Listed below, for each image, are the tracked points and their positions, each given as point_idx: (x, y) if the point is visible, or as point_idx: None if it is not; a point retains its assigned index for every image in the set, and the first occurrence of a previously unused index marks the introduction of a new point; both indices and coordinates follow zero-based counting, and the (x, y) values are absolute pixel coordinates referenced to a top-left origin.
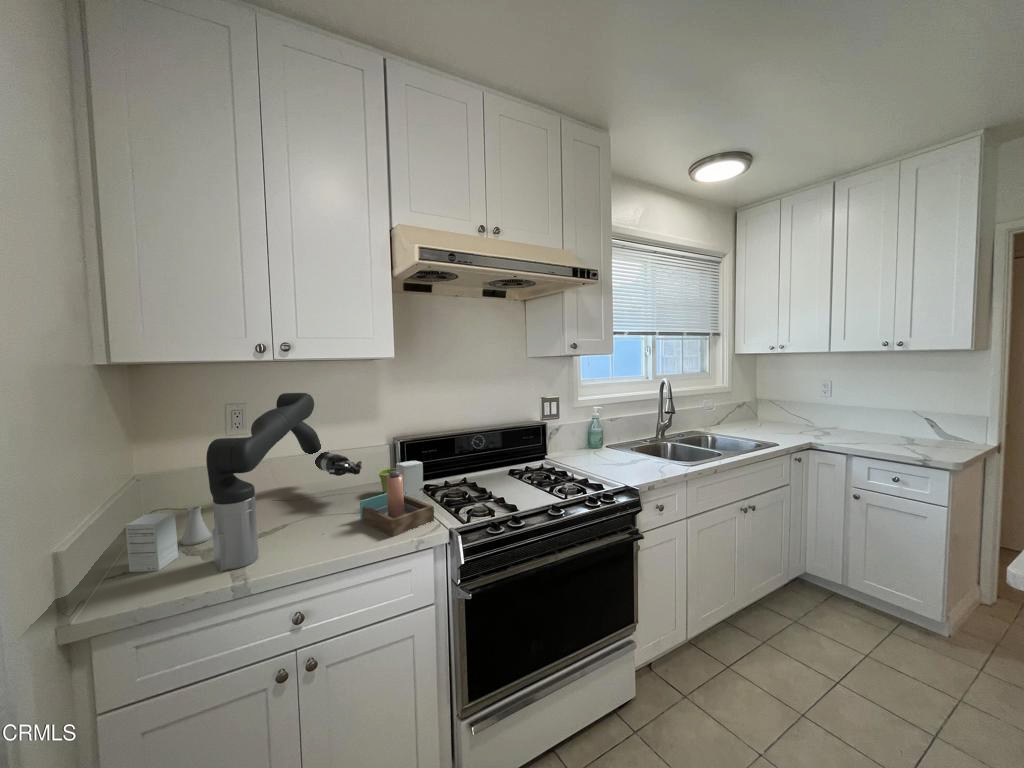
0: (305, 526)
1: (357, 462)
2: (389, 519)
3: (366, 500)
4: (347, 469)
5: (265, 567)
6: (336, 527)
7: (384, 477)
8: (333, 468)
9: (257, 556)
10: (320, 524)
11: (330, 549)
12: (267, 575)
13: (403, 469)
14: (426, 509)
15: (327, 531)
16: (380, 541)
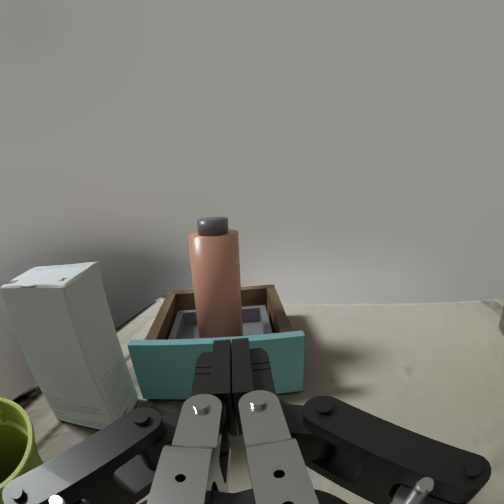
0: (463, 420)
1: (57, 495)
2: (275, 289)
3: (283, 333)
4: (288, 410)
5: (475, 313)
6: (376, 387)
7: (34, 449)
8: (437, 448)
9: (500, 325)
10: (422, 420)
11: (389, 321)
12: (463, 301)
13: (100, 276)
14: (188, 291)
15: (399, 377)
16: (301, 313)
